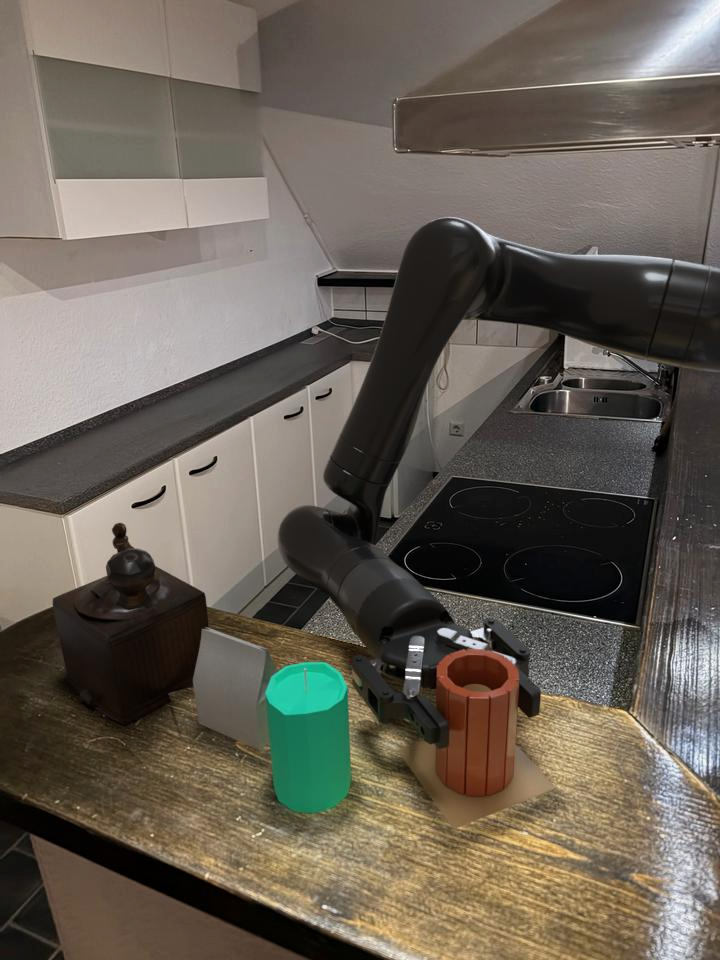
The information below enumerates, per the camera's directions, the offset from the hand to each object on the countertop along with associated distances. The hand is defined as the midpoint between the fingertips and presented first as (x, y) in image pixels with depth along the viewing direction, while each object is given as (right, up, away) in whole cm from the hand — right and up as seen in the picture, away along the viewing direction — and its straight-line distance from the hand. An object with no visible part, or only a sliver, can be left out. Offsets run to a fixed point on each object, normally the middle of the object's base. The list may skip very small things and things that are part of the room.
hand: (491, 722), depth 56 cm
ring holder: (-1, -6, +5) cm, 8 cm away
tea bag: (-20, -5, +10) cm, 23 cm away
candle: (-13, -7, +4) cm, 16 cm away
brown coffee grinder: (-29, -2, +17) cm, 34 cm away
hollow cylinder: (-1, -5, +4) cm, 6 cm away
